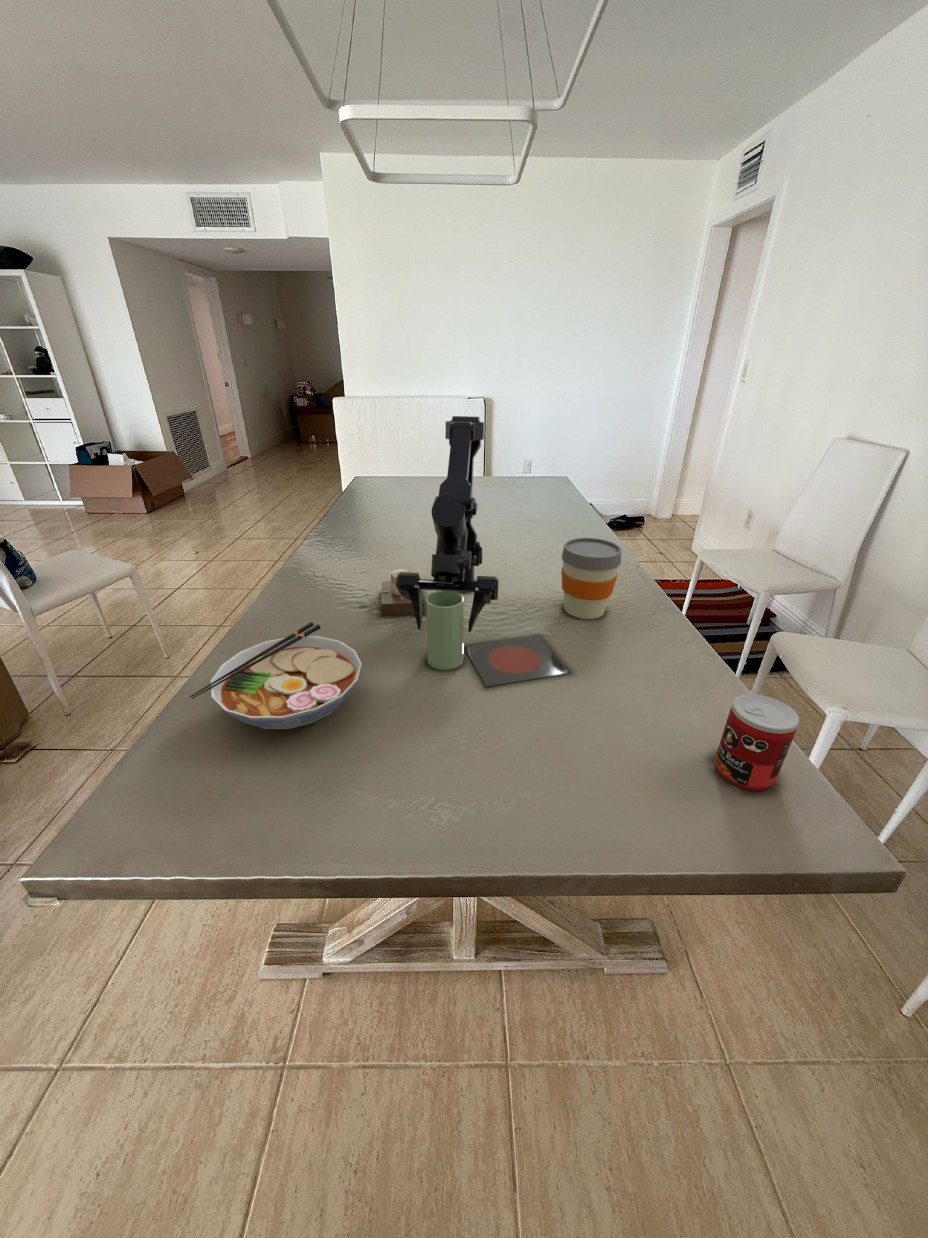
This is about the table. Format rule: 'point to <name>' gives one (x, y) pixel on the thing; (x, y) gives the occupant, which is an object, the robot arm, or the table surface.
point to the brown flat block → (395, 602)
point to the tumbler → (445, 629)
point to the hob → (514, 661)
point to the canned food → (755, 741)
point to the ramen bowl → (286, 680)
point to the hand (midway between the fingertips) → (444, 630)
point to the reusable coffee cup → (589, 575)
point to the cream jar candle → (393, 580)
